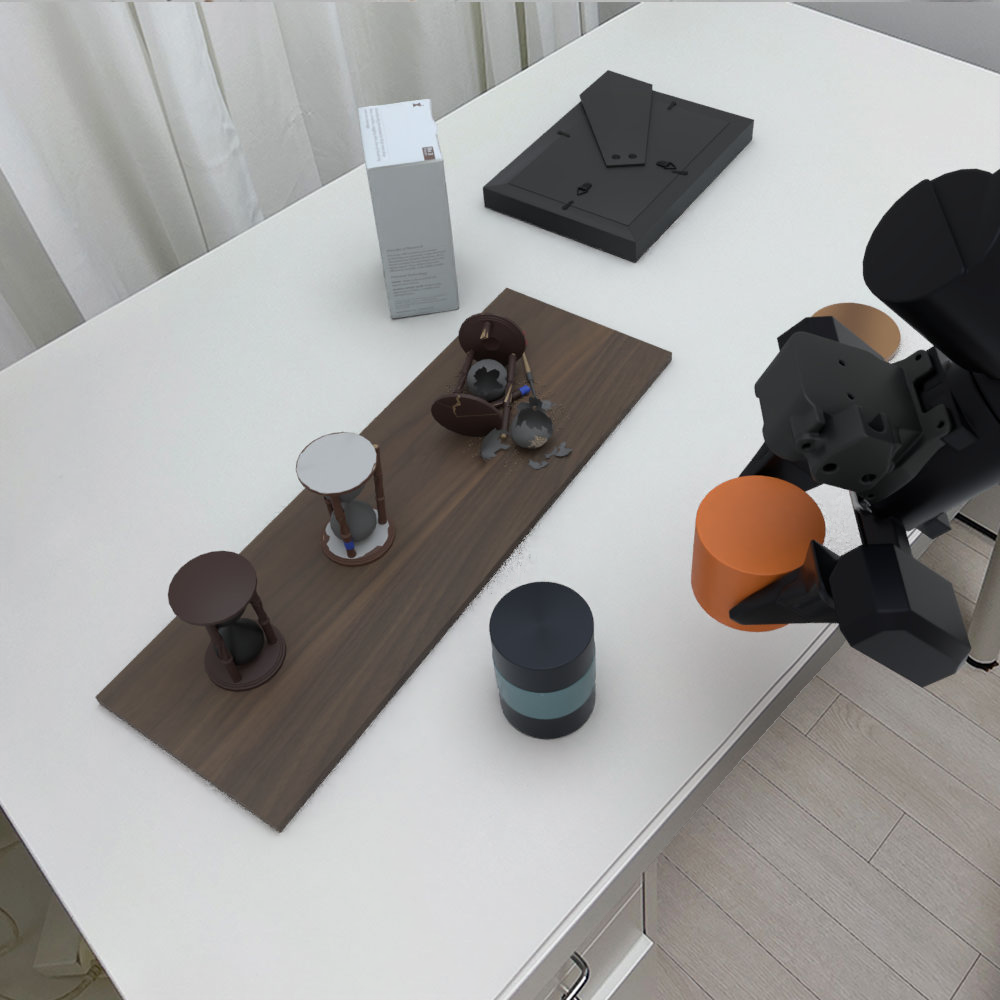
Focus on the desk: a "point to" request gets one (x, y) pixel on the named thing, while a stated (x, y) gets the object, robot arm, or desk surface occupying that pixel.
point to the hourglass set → (376, 553)
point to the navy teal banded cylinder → (544, 659)
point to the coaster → (867, 326)
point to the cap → (750, 541)
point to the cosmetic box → (410, 207)
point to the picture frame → (619, 166)
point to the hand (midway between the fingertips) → (726, 565)
